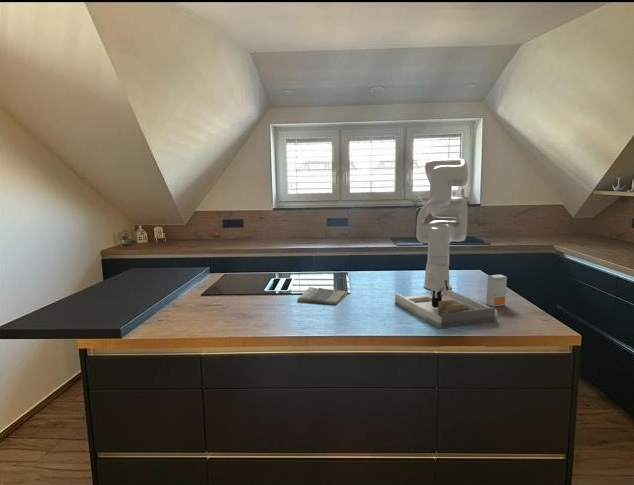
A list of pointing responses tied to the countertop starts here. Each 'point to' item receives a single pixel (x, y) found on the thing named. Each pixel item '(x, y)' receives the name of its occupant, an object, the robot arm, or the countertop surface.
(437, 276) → the robot arm
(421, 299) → the box
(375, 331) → the countertop surface
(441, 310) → the block
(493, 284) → the skincare box
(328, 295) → the dish towel
